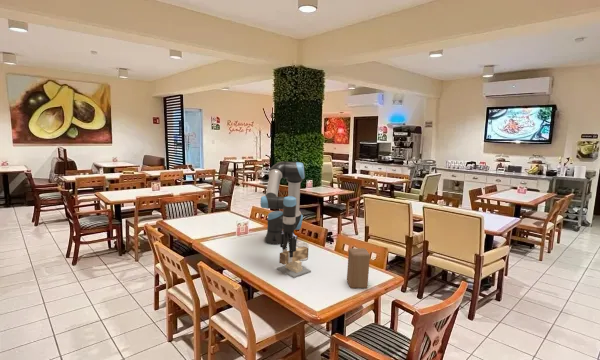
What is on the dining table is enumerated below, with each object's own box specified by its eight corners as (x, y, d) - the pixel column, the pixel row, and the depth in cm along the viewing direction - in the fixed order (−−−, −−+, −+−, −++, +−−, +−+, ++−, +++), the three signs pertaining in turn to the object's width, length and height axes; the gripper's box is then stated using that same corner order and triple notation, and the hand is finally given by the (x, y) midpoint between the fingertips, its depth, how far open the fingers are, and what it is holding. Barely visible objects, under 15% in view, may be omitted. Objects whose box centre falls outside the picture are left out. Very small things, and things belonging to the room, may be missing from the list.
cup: (310, 259, 225) (311, 244, 224) (295, 262, 218) (296, 247, 217) (302, 255, 232) (303, 241, 230) (288, 258, 225) (289, 244, 223)
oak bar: (303, 255, 213) (304, 246, 212) (308, 257, 210) (308, 248, 209) (279, 262, 199) (279, 253, 198) (283, 264, 196) (284, 255, 195)
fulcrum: (293, 263, 216) (293, 253, 215) (311, 272, 204) (311, 261, 204) (276, 269, 206) (277, 258, 205) (294, 278, 195) (294, 266, 194)
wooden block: (346, 280, 195) (348, 247, 192) (363, 280, 196) (365, 247, 193) (350, 288, 185) (352, 254, 182) (367, 288, 186) (370, 254, 183)
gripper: (274, 220, 201) (273, 257, 204) (293, 227, 189) (292, 266, 192) (284, 218, 206) (283, 255, 209) (303, 225, 194) (301, 263, 197)
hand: (287, 260), depth 201 cm, fingers closed on oak bar, 4 cm apart
